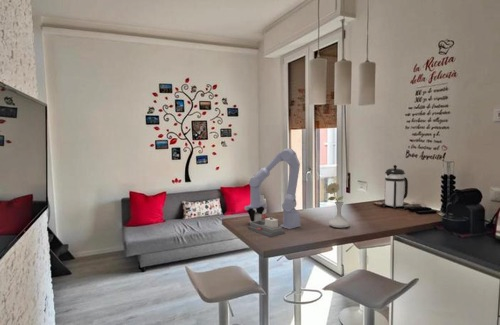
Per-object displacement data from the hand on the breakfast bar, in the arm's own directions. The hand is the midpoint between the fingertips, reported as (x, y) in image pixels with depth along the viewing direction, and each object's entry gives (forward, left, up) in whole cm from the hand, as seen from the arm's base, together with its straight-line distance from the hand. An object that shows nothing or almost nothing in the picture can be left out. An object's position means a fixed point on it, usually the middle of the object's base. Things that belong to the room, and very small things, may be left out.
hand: (255, 220), depth 190 cm
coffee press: (-104, +29, -2) cm, 108 cm away
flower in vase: (-32, +34, -2) cm, 47 cm away
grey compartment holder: (+5, +15, -2) cm, 16 cm away
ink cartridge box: (-11, -10, -2) cm, 15 cm away
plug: (0, 0, -2) cm, 2 cm away
